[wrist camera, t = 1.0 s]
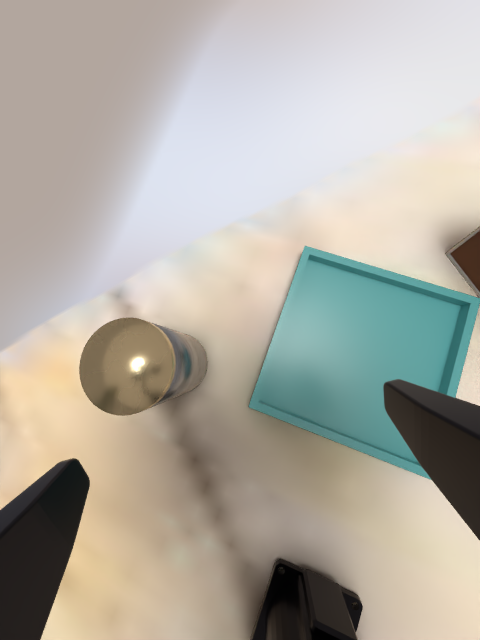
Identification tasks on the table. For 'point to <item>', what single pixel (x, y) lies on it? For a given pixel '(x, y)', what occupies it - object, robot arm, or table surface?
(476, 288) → the food container
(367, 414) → the teal tray
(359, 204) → the table surface
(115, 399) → the grey tin
